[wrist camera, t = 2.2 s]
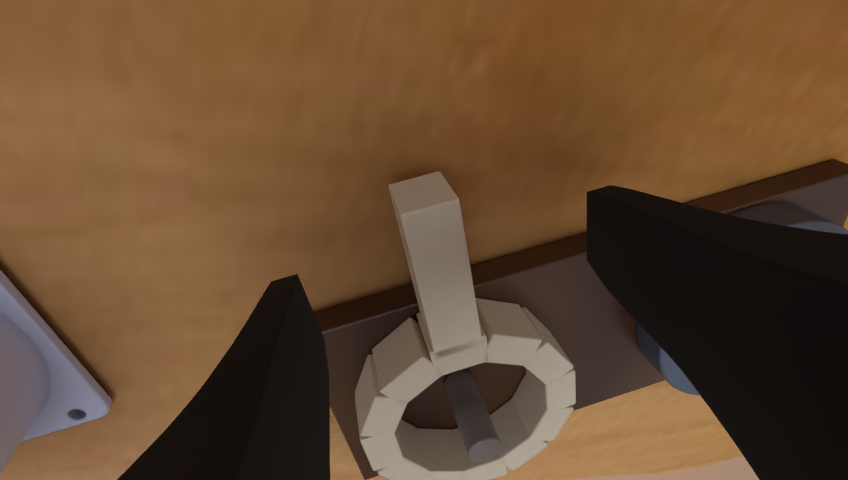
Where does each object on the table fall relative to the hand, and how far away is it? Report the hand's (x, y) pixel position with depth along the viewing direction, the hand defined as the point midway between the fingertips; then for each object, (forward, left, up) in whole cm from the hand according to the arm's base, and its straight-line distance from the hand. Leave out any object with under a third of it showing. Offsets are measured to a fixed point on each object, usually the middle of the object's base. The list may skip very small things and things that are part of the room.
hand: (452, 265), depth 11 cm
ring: (0, -5, -3) cm, 6 cm away
